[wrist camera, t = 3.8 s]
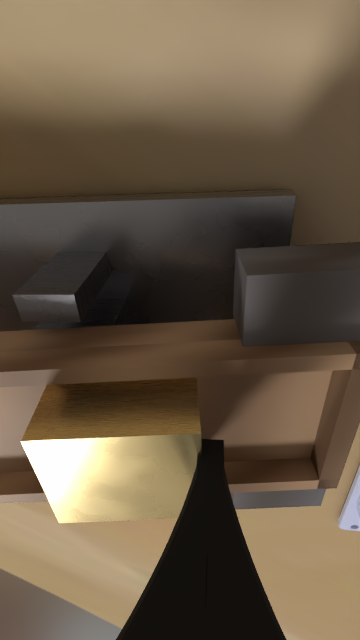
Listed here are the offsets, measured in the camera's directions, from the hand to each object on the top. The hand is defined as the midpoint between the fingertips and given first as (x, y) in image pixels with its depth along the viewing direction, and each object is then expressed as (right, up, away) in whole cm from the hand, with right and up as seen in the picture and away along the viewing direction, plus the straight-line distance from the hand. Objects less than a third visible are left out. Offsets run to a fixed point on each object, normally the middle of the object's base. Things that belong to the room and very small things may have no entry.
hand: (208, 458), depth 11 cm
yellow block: (-3, +1, +2) cm, 3 cm away
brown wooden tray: (-5, +1, +3) cm, 6 cm away
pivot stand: (-4, +4, +6) cm, 8 cm away
